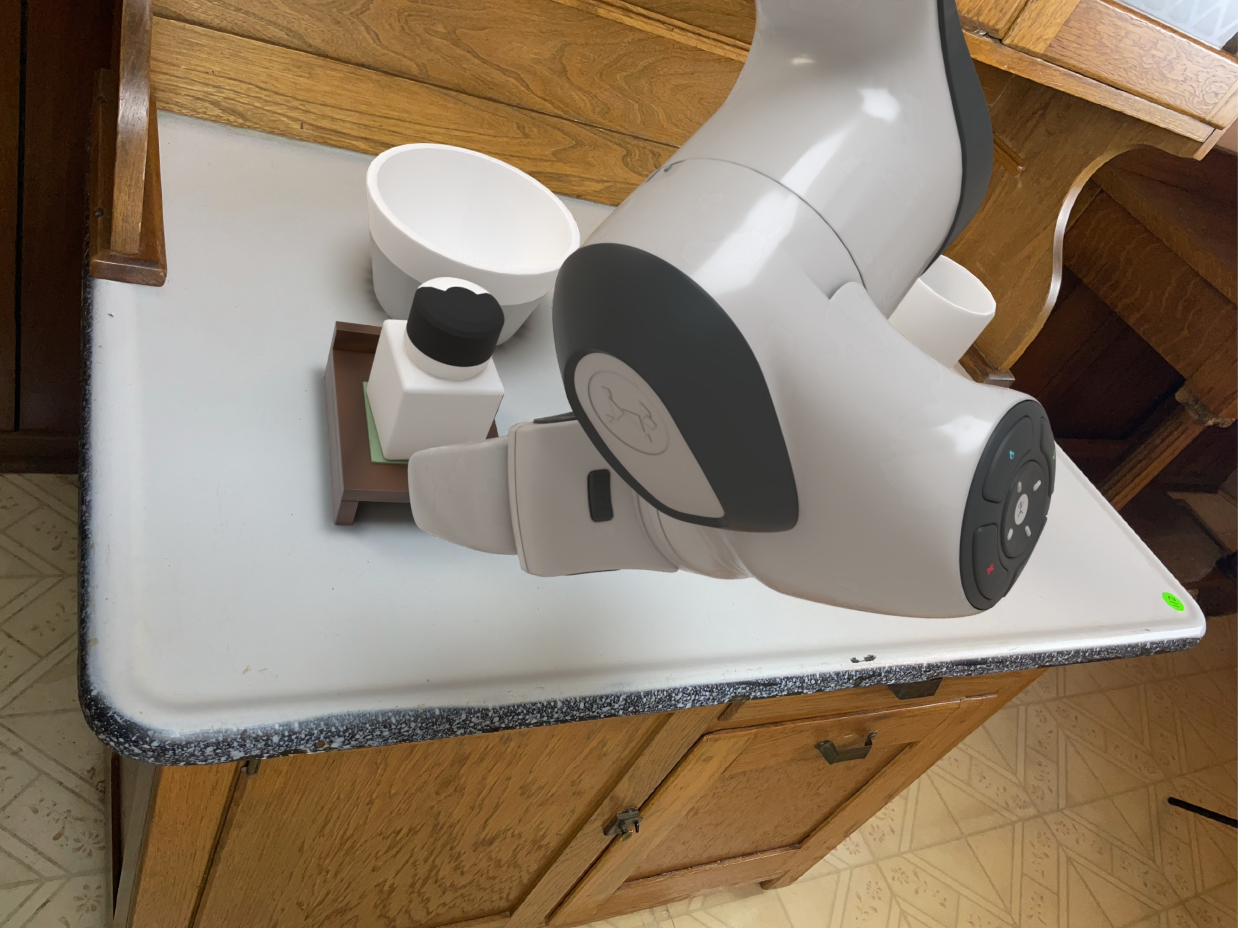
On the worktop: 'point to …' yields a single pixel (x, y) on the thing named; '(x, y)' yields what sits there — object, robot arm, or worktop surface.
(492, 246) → the bowl
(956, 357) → the cup
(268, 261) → the worktop surface
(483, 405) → the medicine bottle
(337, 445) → the shelf
